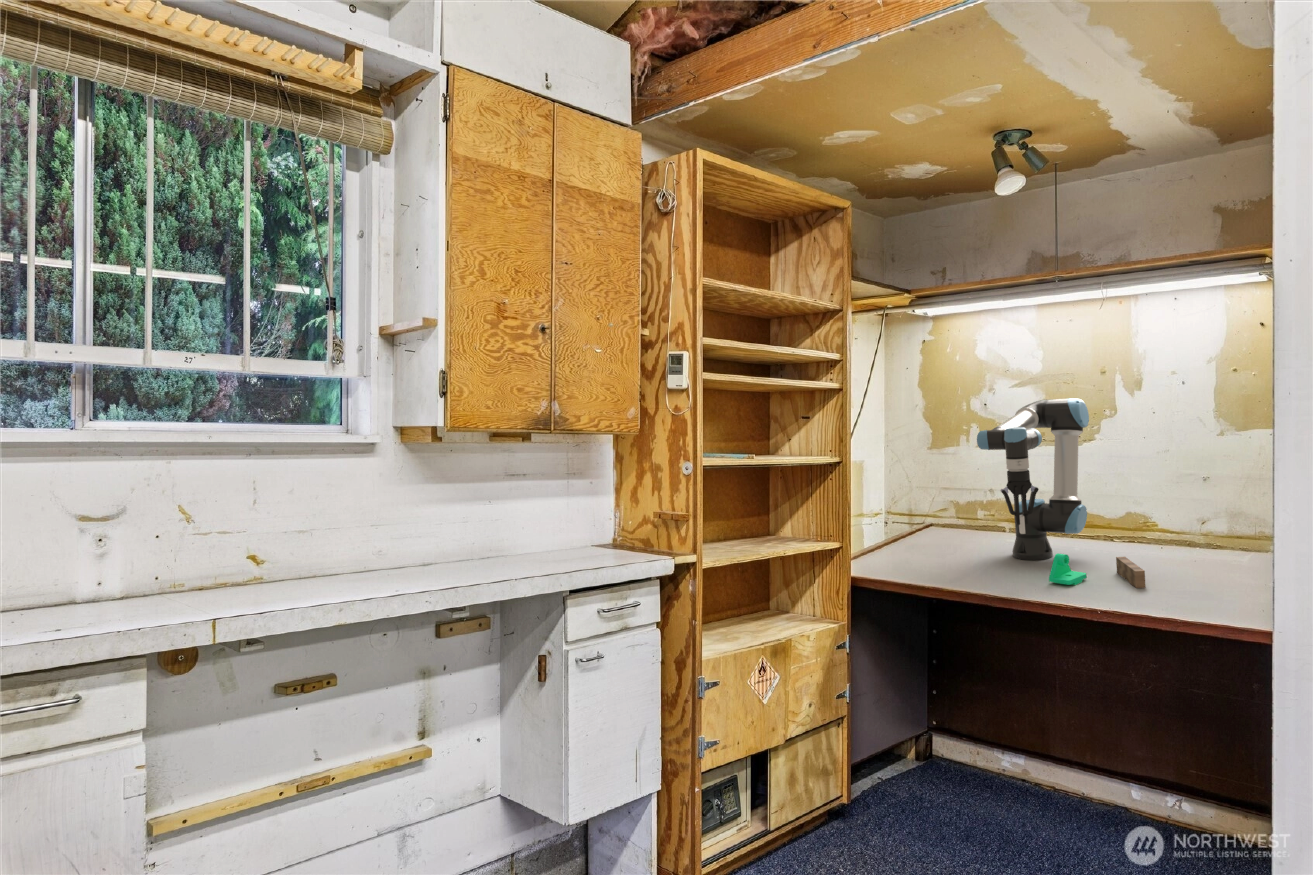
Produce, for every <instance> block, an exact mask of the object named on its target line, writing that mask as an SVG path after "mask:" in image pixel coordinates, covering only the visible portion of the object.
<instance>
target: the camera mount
mask: <svg viewBox="0 0 1313 875" xmlns="http://www.w3.org/2000/svg"><path fill="white" fill-rule="evenodd" d="M1052 561H1053V562H1052V564H1051V568H1050V569H1051V570H1050V573H1049V577H1048V582H1050V583H1055V584H1060V585H1067V586H1069V585H1072V586H1076V585H1078V584H1081V583H1083V580H1085V579H1087V573H1086V572H1082V571H1076V570H1075V571H1074V570H1072V568H1071V567H1070V565H1069V563H1070V556H1069V555H1068V554H1064V553H1055V555H1054V558H1053V560H1052Z"/></svg>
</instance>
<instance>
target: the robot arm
mask: <svg viewBox="0 0 1313 875" xmlns="http://www.w3.org/2000/svg"><path fill="white" fill-rule="evenodd" d="M1089 415H1090V414H1089V410H1088V406H1087V404H1086V402H1084V400H1082V398H1081V399H1080V398H1055V399H1041V400H1037V401H1033V402H1031V403H1029V404H1027V405H1025V406H1022V407H1020V408H1019V409H1018V410H1017V411H1016V412H1015V414H1014V415H1012V417H1010V418H1008V419H1006V420H1005V421H1003V422H1002V423H1000V424H999V425H997V426H995V427H994V428H992V429H984V430H980V431H979V432H978V433H977V436H976V444H977V446H978V448H979V449H980V450H986V451H998V450H999V451H1001V450H1002V451H1004V450H1005V462H1006V463H1005V464H1006V469H1007V471H1006V474H1007V476H1006V478H1007V483H1006V486H1005V487H1004V488H1001V489H1000V493H1002V495H1003V497H1004V499H1005V503H1006V505H1007V509H1008V511H1009V514H1011V515H1012V516H1014V528H1015V540H1014V543H1013V548H1012V557H1013V558H1015V559H1018V560H1025V561H1026V560H1027V561H1039V560H1040V561H1041V560H1047V559H1050V558H1052V557H1053V556H1054V555H1053V554H1054V553H1053V548H1052V546H1051V544H1050V541H1049V539H1048V537H1047V534H1048V533H1053V534H1054V533H1055V534H1066V535H1070V534H1072V535H1073V534H1075V535H1077V534H1080V533H1081V532H1082V531H1083V530H1084V528H1085V526H1086V524H1087V523H1086V522H1087V518H1088V511H1087V509H1088V508H1087V507H1086V505H1084V504H1082V499H1081V498H1080V497H1079V496H1078V485H1079V484H1078V480H1079V479H1078V478H1079V475H1078V474H1079V438H1080V435H1082V434H1083V432H1084V428H1087V427H1088V425H1089V421H1090V416H1089ZM1041 428H1042V429H1045V428H1046V429H1050V432H1051V434H1053V436H1054V454H1053V455H1054V456H1053V457H1054V458H1053V459H1054V460H1053V462H1054V463H1053V464H1054V465H1053V495H1052V496H1051V497H1050V498H1049V499H1048V500H1049V501H1048V503H1046V501H1045V500H1044V499H1043V498H1036V497H1037V496H1036V495H1037V493H1039V492H1038V491H1039V490H1040V488H1039V487H1037V486H1035V485H1032V484H1033V483H1032V482H1031V477H1030V476H1031V475H1030V469H1029V468H1030V461H1029V450H1034V449H1036V448H1037V447H1039V446H1040V445H1041V443H1042V441H1043V436H1042V434H1041V432H1040V431H1039V430H1038V429H1041ZM1029 491H1030V496H1029V499H1027V494H1028V492H1029ZM1009 492H1011V494H1013V504H1012V502H1011V499H1010V496H1009ZM1019 496H1020V497H1019ZM1020 498H1021V500H1020ZM1013 505H1014V506H1013Z"/></svg>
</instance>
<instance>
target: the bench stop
mask: <svg viewBox="0 0 1313 875" xmlns="http://www.w3.org/2000/svg"><path fill="white" fill-rule="evenodd" d="M1115 561H1116V562H1115V563H1116V574H1118V575H1120V577H1122V579H1124V580H1126V581H1127V582H1128V583H1129V584H1130V585H1132V586H1133V587H1134V588H1136V589H1142V588H1143V589H1144V588H1146V573H1145V572H1146V571H1145V570H1144V569H1143V568H1142V567H1140V566H1139V565H1137V564H1136V563H1134V561H1132V560H1130V559H1129V558H1127V557H1126V556H1116V557H1115Z"/></svg>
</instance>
